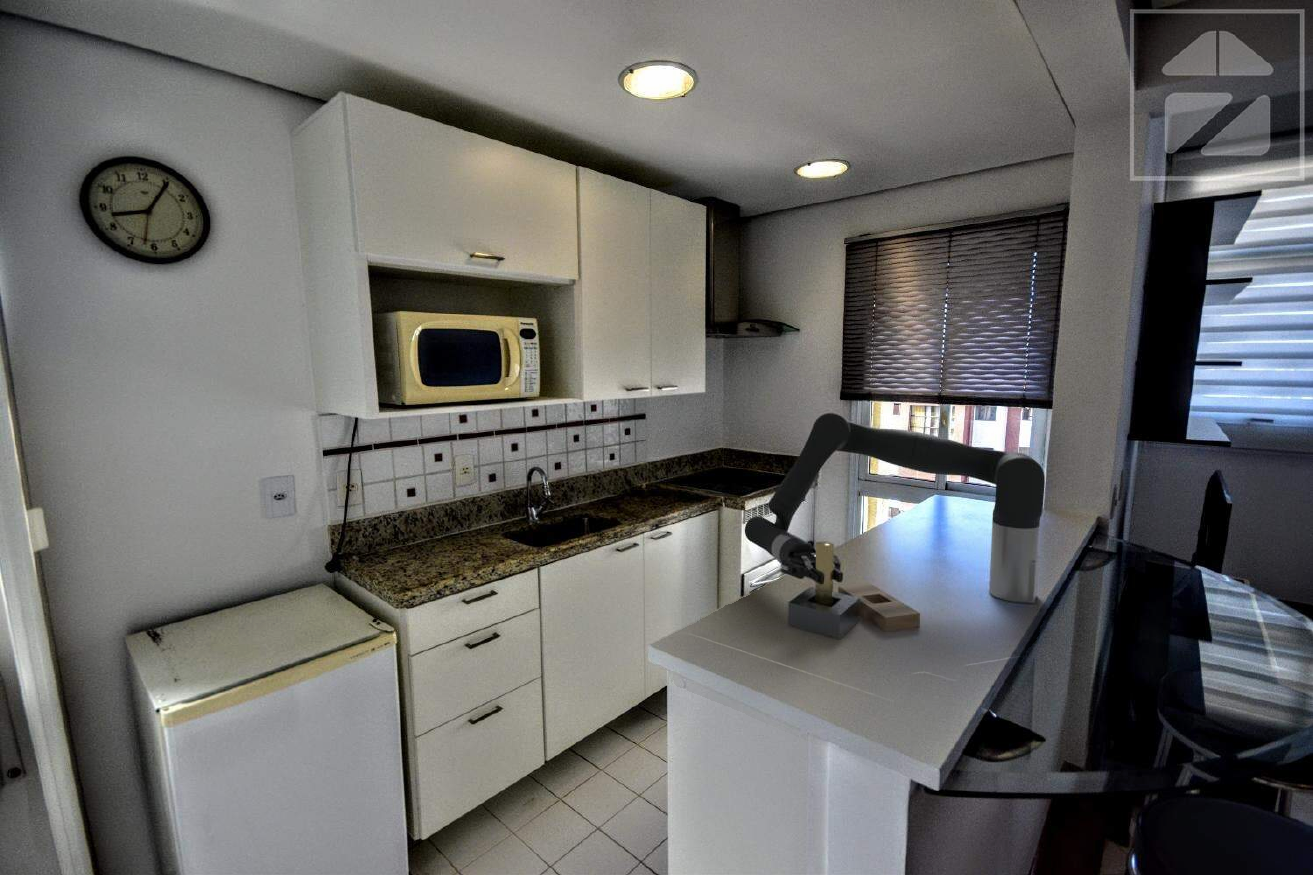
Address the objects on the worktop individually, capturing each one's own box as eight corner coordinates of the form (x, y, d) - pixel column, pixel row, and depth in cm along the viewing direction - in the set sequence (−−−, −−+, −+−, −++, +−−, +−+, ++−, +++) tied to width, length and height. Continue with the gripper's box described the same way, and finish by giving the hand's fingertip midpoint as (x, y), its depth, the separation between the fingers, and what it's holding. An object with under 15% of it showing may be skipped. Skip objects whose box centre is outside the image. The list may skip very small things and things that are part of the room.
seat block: (859, 620, 122) (859, 597, 121) (839, 639, 114) (839, 615, 113) (810, 607, 129) (810, 586, 128) (788, 625, 120) (788, 602, 120)
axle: (835, 616, 121) (836, 543, 120) (828, 622, 119) (829, 547, 117) (819, 612, 124) (820, 540, 122) (812, 618, 121) (813, 544, 119)
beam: (838, 598, 134) (838, 585, 134) (868, 594, 136) (868, 582, 135) (885, 631, 117) (885, 617, 116) (919, 626, 118) (920, 613, 118)
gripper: (765, 539, 132) (800, 564, 115) (821, 534, 135) (863, 557, 118) (765, 571, 133) (799, 600, 116) (820, 565, 136) (862, 592, 119)
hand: (831, 578), depth 117 cm, fingers closed on axle, 3 cm apart
